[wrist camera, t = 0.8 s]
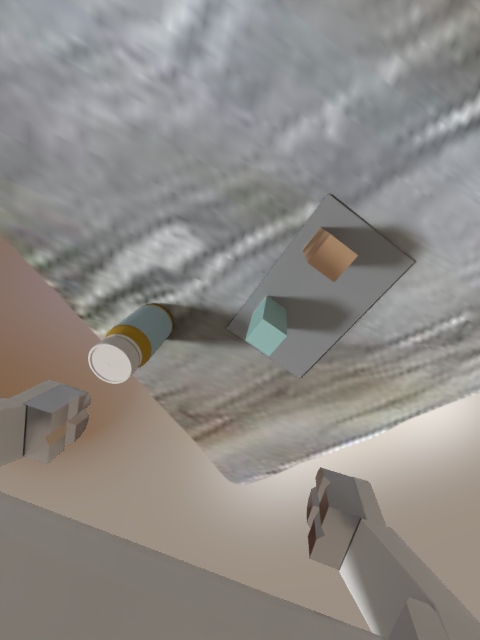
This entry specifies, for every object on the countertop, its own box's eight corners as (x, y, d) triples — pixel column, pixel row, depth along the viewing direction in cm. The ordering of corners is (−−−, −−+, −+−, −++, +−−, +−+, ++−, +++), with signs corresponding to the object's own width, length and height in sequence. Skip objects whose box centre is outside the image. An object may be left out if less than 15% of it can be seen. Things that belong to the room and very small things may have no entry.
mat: (327, 193, 40) (328, 193, 40) (413, 261, 42) (414, 261, 42) (226, 327, 50) (226, 328, 50) (299, 377, 52) (299, 378, 52)
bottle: (180, 315, 51) (142, 358, 37) (164, 345, 53) (124, 394, 40) (145, 295, 50) (94, 331, 36) (131, 325, 53) (78, 369, 39)
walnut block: (320, 227, 42) (330, 234, 33) (341, 243, 42) (358, 255, 33) (302, 249, 43) (307, 263, 34) (323, 265, 44) (334, 282, 35)
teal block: (266, 295, 47) (262, 318, 38) (286, 309, 47) (287, 335, 38) (252, 313, 48) (245, 340, 39) (271, 327, 49) (269, 356, 40)
